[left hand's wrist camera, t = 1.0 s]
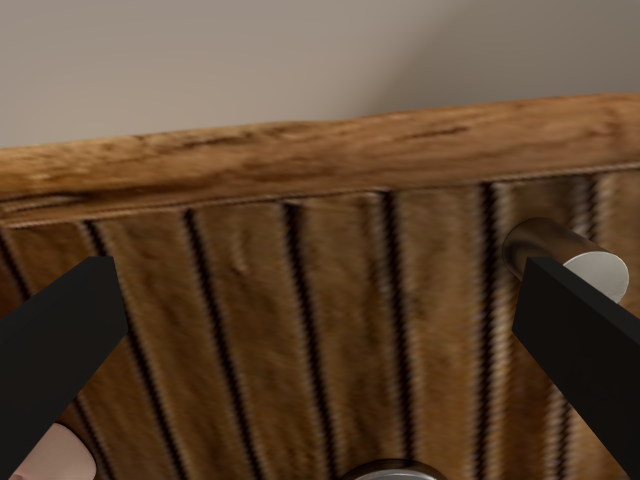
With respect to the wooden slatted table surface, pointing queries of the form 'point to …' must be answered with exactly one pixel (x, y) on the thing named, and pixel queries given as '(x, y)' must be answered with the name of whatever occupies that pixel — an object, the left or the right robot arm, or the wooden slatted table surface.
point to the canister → (566, 255)
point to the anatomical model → (57, 458)
